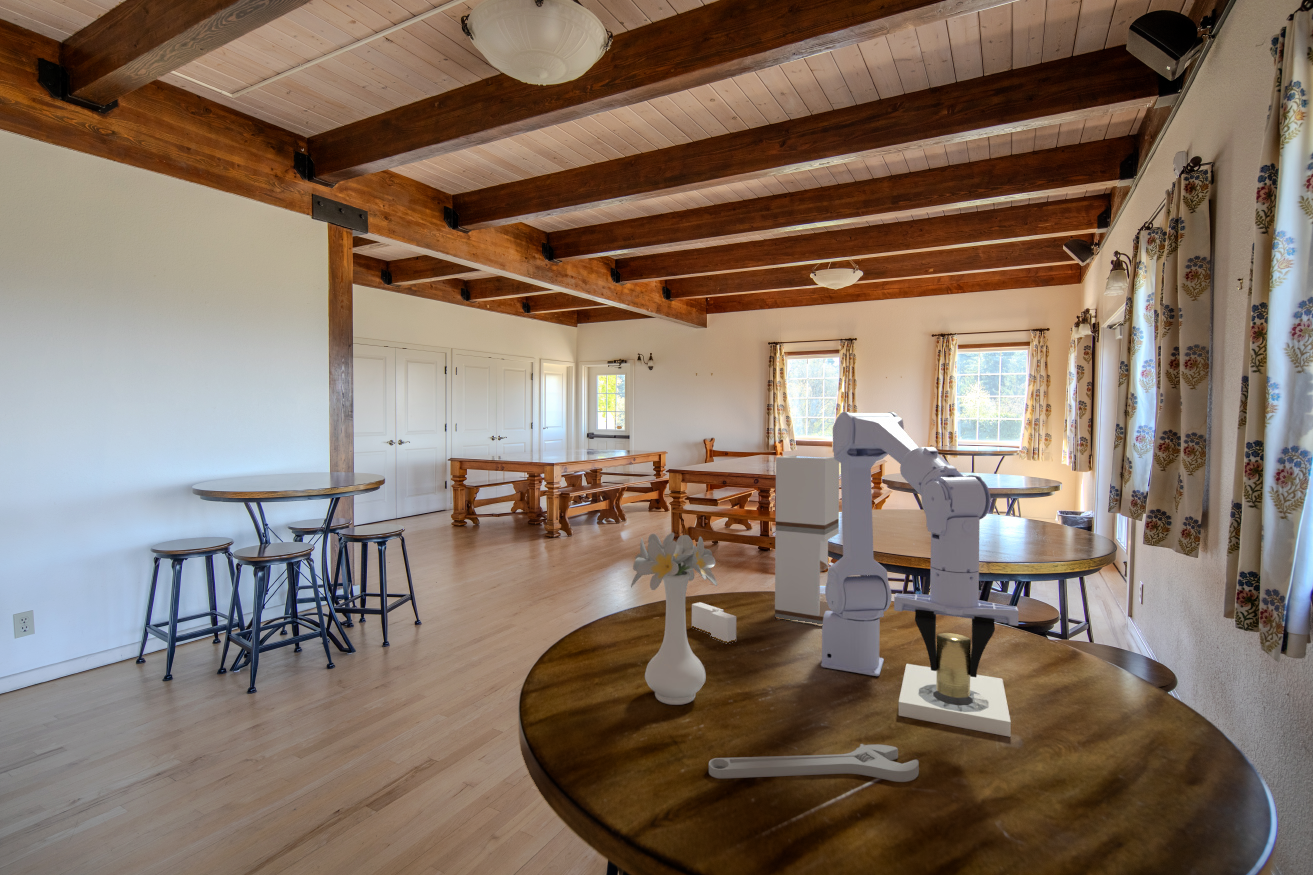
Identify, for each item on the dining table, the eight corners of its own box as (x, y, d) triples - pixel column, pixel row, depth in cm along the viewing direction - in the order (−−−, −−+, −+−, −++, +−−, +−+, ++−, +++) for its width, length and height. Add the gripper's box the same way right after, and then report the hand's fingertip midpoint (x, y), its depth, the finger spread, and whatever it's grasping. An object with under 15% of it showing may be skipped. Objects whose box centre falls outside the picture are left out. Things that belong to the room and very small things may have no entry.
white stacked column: (823, 626, 129) (825, 458, 128) (774, 618, 134) (775, 457, 134) (838, 612, 138) (839, 456, 138) (791, 605, 144) (792, 455, 143)
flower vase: (706, 670, 105) (707, 523, 105) (723, 722, 87) (724, 544, 86) (629, 671, 104) (630, 524, 104) (630, 724, 86) (631, 544, 86)
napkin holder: (682, 625, 131) (682, 598, 131) (735, 625, 131) (735, 598, 131) (686, 651, 116) (686, 620, 116) (746, 651, 116) (747, 620, 116)
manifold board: (898, 715, 89) (898, 680, 89) (906, 675, 103) (906, 645, 103) (1010, 736, 83) (1011, 699, 83) (1002, 691, 97) (1002, 659, 97)
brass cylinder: (935, 694, 80) (936, 640, 80) (936, 682, 84) (937, 631, 84) (970, 700, 79) (971, 645, 78) (969, 688, 82) (970, 635, 82)
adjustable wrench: (709, 783, 73) (709, 768, 73) (706, 755, 79) (706, 741, 79) (924, 784, 72) (924, 769, 72) (903, 756, 79) (903, 742, 79)
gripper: (892, 568, 81) (891, 672, 81) (1021, 580, 74) (1019, 693, 74) (897, 558, 87) (896, 654, 87) (1016, 568, 81) (1014, 672, 81)
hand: (953, 671), depth 81 cm, fingers closed on brass cylinder, 4 cm apart
